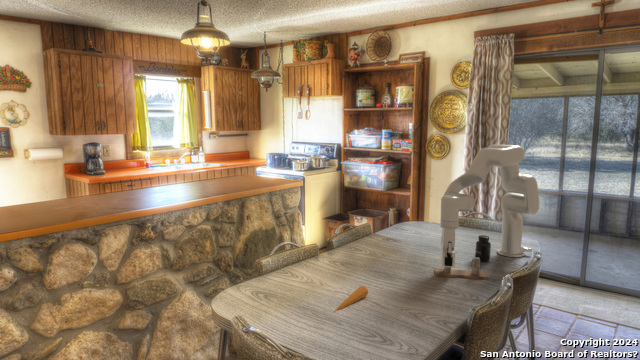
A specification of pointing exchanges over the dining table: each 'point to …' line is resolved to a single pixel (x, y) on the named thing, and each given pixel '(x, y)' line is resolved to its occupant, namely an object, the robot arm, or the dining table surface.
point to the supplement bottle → (483, 248)
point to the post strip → (464, 271)
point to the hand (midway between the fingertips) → (447, 263)
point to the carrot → (354, 297)
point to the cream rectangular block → (444, 258)
